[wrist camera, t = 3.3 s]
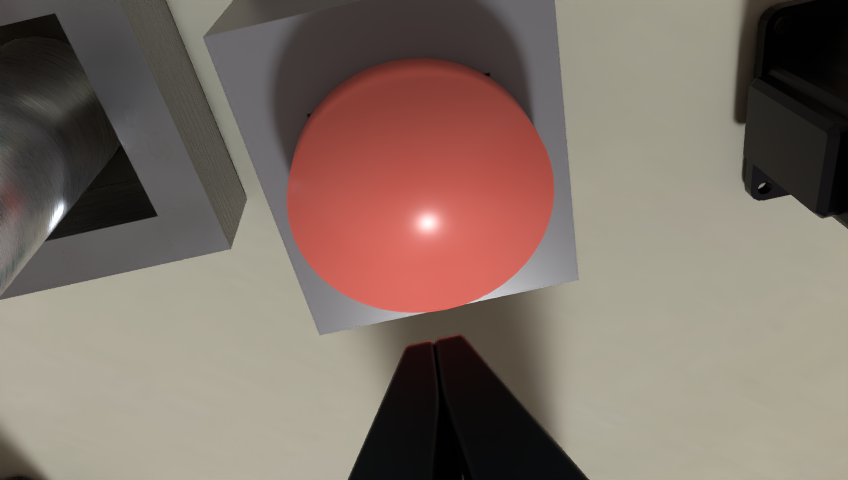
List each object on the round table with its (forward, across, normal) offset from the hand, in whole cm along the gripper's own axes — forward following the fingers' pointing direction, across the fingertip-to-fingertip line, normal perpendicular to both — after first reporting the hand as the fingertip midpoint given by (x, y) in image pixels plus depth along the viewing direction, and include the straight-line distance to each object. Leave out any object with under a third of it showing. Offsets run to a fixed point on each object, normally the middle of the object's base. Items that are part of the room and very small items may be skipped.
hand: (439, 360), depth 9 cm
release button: (+8, 0, 0) cm, 8 cm away
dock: (+12, 0, 0) cm, 12 cm away
